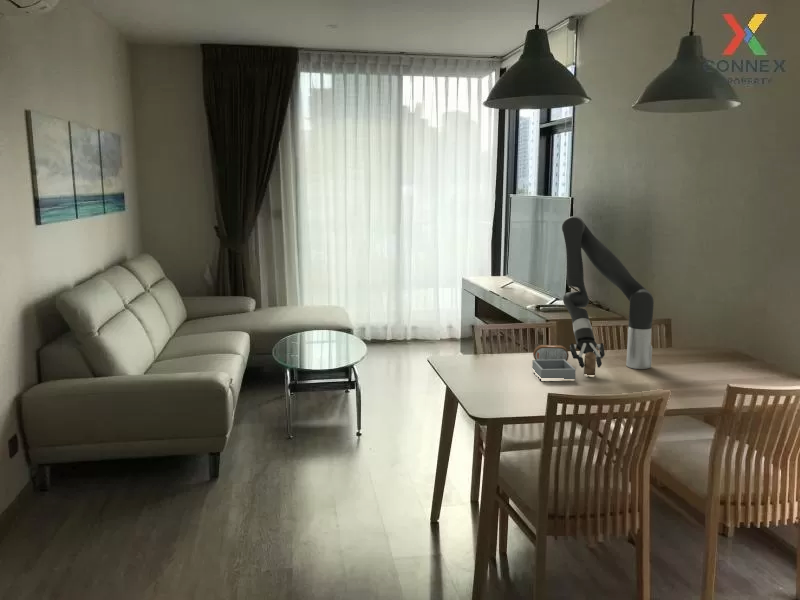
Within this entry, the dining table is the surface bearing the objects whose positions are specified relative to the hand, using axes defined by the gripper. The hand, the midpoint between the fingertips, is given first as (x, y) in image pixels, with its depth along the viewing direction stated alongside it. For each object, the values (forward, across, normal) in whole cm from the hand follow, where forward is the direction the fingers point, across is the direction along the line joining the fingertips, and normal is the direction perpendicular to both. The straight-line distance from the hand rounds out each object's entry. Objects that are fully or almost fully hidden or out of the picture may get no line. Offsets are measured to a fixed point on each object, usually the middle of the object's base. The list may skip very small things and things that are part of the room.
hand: (591, 366), depth 257 cm
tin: (-11, -11, +18) cm, 23 cm away
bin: (+2, -15, +4) cm, 16 cm away
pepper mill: (+2, 0, +4) cm, 5 cm away
